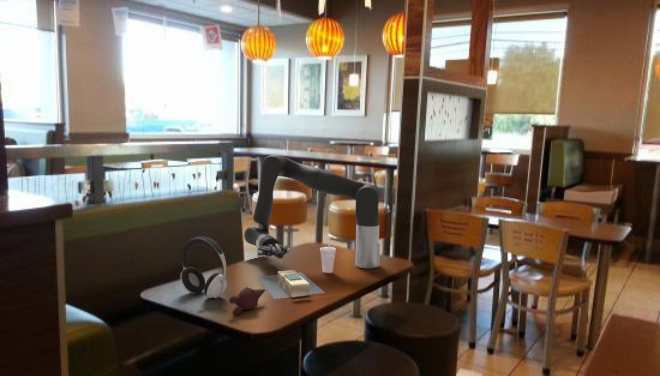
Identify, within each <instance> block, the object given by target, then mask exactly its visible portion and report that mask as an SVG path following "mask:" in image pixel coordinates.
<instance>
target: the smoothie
mask: <svg viewBox="0 0 660 376" xmlns="http://www.w3.org/2000/svg"><path fill="white" fill-rule="evenodd" d="M319 252H320V259H321V267H322V268H321V269H322V273H324V274H333V270H334V263H335V257H336V252H337V248H336V247H335V246H334V247H333V246H331V237H328V246H322V247H320V248H319Z"/></svg>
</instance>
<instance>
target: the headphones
mask: <svg viewBox="0 0 660 376" xmlns="http://www.w3.org/2000/svg"><path fill="white" fill-rule="evenodd" d="M196 244H203V245H206V246H207V247H209V248H210V249H211V250H212V251H213V252H214V253H215V254H216V256H217V258H218V260H219V261H220V265H221V268H222V274H221V273H220V272H214V273H212V274H211V275H210V276H209V277H208V279H207V280H206V279H205V276H204V274H203V273H202V271H201V270H200V269H198V268H196V267H194V266H188V267H187V266H186V264H187V263H186V260H187V255H188V252H189V250H190V249H191V247H192V246H194V245H196ZM181 262H182V267H183V270H182V271H181V273H180V284H181V287H182V288H183V289H184V290H185V291H187V292H188V293H190V294H193V295H195V294H201V293H202V292H203V293H204V295H205V296H206V297H207V298H208V299H212V298H214V299H218V298H219V297H220V296H221V295H222V294H223V293H224V291H225V290H226V288H227V286H228V283H227V281H226V277H227V262H226V257H225V254H224V252H223V250H222V248H221V247H220V246H219V245H218V243H217V242H216V241H215V240H214V239H212V238H211V237H208V236H201V235H200V236H195V237H193V238H190V239H188V241H186V243H185V244H184V246H183V247H182V252H181Z"/></svg>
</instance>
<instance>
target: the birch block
mask: <svg viewBox="0 0 660 376" xmlns="http://www.w3.org/2000/svg"><path fill="white" fill-rule="evenodd" d="M298 273H299V272H297V271H296V270H295V269H289V270H281V271H277V275H278V283H279V284H280V285H281V286H282V287H283V288H284V289H285V290H286V291H287V292H288V293H289V295H290V296H291V297H290V298H295V297H304V296H310V295H309V283H308V282H307V281H306V280H305V279H304V278H302V277H301V276H300V275H299V274H298Z"/></svg>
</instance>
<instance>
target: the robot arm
mask: <svg viewBox="0 0 660 376" xmlns="http://www.w3.org/2000/svg"><path fill="white" fill-rule="evenodd" d="M260 171H261V174H260V184H259V190H258V194H257V195H258V196H257V200H256V204H255V208H254V213H253V218H252V220H253V221H254V222H255V223H257V224H259V225H261V227H258V226H257V227H256V226H248V227H247V228H246V229H245V230H244V233H243V235H244V237H243V238H244V240H245V241H246V243H248V244H250V245H253V246H256V247H257V252H258V253H257V254H258V255H260V256H264V257H265V256H266V257H275V258H277V259H283V258H284V256H285V255H287V254H288V253H289V252H290V245H289V244H288V245H284V246H283V244H281V243H280V242H279V240H278V239H276V238H275V237H274V236H273V235H271V234H270V228H269V227H270V219H271V214H272V211H273V206H274V190H275V189H274V188H275V186H276V182H277V179H278V178H279V177H283V178H288V179H291V180H294V181H297V182H299V183H300V184H302V185H304V186H305V187H307V188H308V189H311V190H313V191H317V192H319V193H323V194H325V195H333V196H342V197H347V198H350V199H352V200H355V220H356V227H355V228H356V229H355V230H356V232H355V234H356V235H355V259H354V261H355V262H354V263H355V266H356V267H357V268H361V269H375V268H379V267H380V260H381V257H380V256H381V244H380V241H379V239H380V216H379V204H380V202H381V201H382V195H383V194H382V191H381V189H380V188H379V187H378V186H377V185H375V184H371V183H366V182H361V181H357V180H353V179H350V178H348V177H346V176H342V175H340V174H337V173H334V172H331V171H329V170H325V169H322V168H319V167H315V166H311V165H308V164H307V165H306V164H302V163H299V162H297V161H295V160H292V159H290V158H287V157H286V156H283V155H281V154H273V155H272V154H271V155H268V156H266V157H265V158H264V159H263V160H262V164H261V170H260Z"/></svg>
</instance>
